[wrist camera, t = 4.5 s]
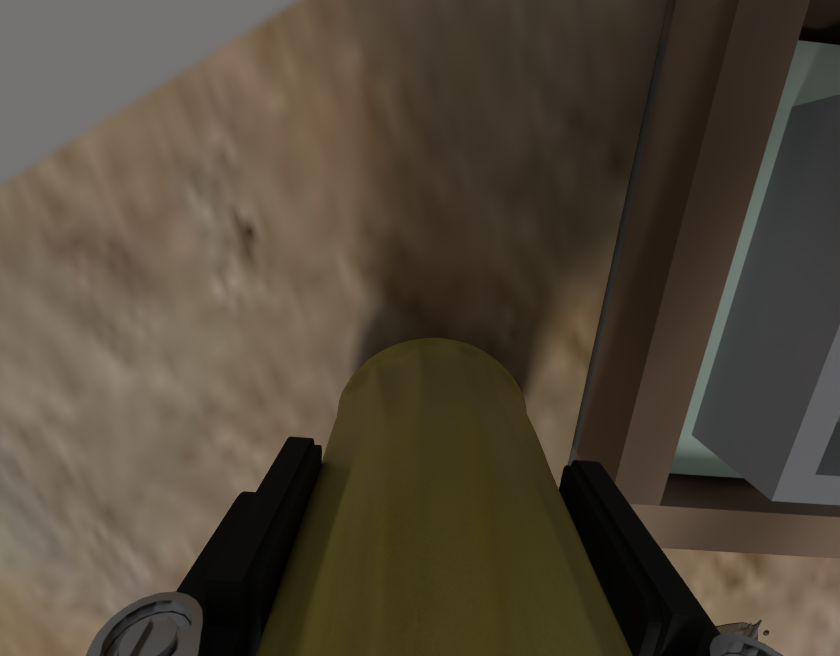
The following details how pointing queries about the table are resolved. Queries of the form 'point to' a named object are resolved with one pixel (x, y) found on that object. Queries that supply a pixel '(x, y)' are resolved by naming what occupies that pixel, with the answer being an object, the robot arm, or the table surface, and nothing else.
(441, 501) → the vase
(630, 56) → the table surface
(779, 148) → the square serving tray
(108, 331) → the table surface
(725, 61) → the open wooden box
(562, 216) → the table surface
